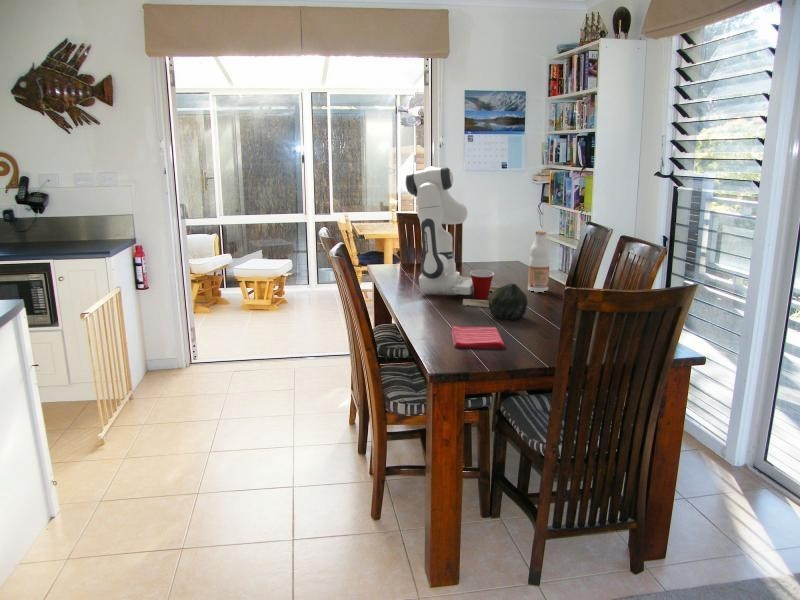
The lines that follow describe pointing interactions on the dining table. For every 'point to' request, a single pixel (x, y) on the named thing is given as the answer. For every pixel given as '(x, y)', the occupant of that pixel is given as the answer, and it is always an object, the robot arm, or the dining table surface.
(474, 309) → the dining table surface
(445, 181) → the robot arm
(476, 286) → the plastic cup
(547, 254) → the fruit juice
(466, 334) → the dish towel
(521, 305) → the squash
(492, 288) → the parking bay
